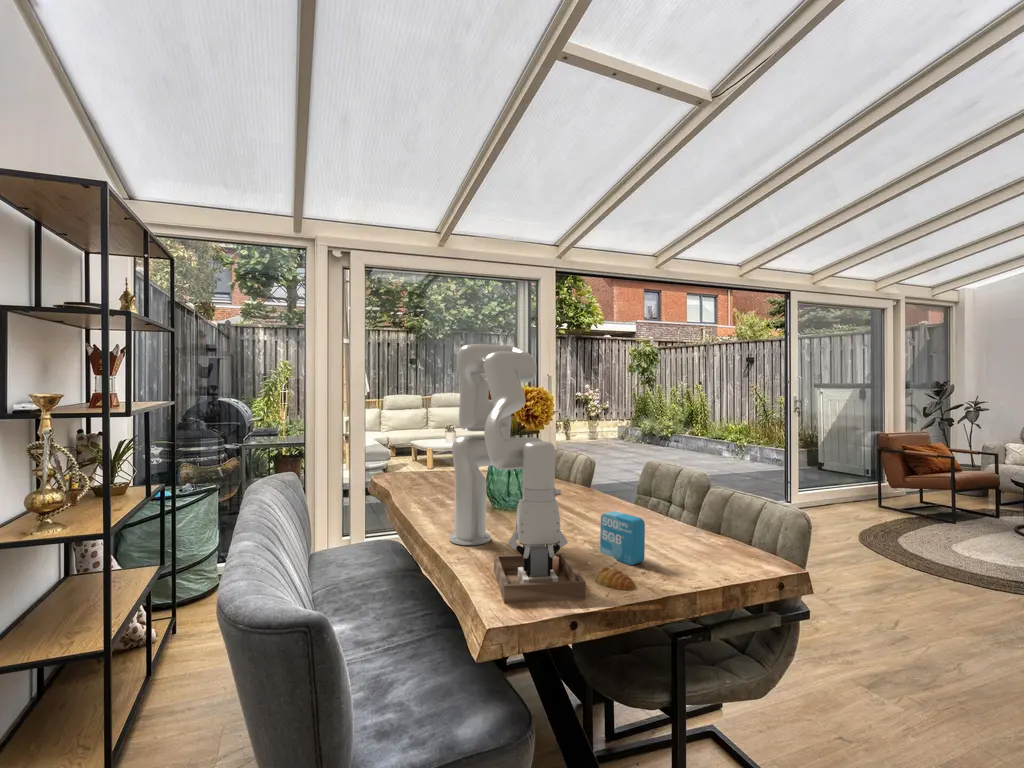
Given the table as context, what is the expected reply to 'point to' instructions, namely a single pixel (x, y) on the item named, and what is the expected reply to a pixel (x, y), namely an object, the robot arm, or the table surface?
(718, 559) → the table surface
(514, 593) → the crate
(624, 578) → the pastry
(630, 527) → the data package
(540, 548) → the gray block
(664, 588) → the table surface
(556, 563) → the ball
